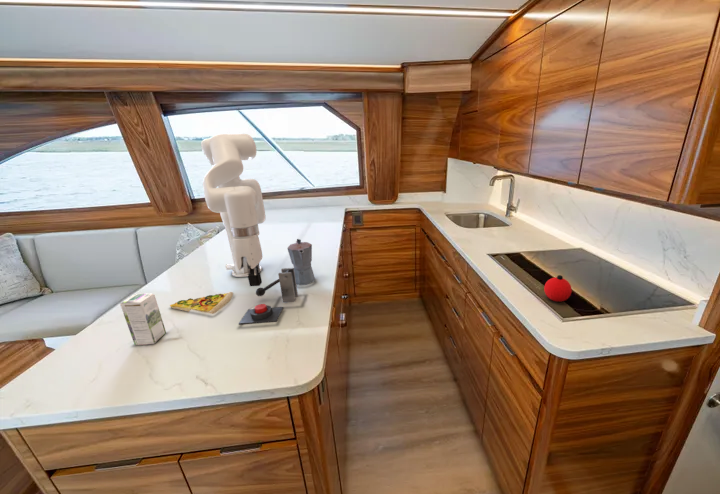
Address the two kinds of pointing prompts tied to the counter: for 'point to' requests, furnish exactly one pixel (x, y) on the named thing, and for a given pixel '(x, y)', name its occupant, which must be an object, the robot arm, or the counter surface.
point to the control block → (261, 316)
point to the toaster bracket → (288, 285)
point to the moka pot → (302, 262)
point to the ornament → (558, 289)
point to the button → (260, 308)
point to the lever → (267, 287)
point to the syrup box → (143, 318)
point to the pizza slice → (204, 303)
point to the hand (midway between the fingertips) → (256, 284)
